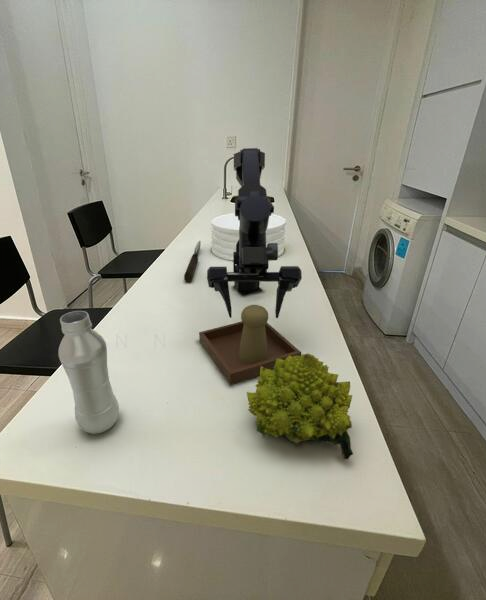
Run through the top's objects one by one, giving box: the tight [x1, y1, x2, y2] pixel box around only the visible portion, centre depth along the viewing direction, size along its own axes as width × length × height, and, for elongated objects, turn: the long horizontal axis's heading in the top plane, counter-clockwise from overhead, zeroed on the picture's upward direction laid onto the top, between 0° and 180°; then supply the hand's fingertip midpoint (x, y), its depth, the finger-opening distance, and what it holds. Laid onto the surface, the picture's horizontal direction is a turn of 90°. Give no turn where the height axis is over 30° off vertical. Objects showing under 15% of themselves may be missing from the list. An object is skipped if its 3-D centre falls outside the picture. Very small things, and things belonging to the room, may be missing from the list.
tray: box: [198, 320, 302, 386], centre depth 69 cm, size 16×16×3 cm
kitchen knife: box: [183, 240, 201, 283], centre depth 118 cm, size 36×2×5 cm, turn 175°
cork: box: [239, 304, 269, 364], centre depth 65 cm, size 6×6×11 cm
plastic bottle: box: [57, 310, 120, 435], centre depth 49 cm, size 6×7×20 cm
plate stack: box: [210, 212, 287, 261], centre depth 128 cm, size 28×28×12 cm
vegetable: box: [246, 353, 354, 461], centre depth 51 cm, size 15×16×15 cm
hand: (253, 317), depth 66 cm, fingers open, 9 cm apart
